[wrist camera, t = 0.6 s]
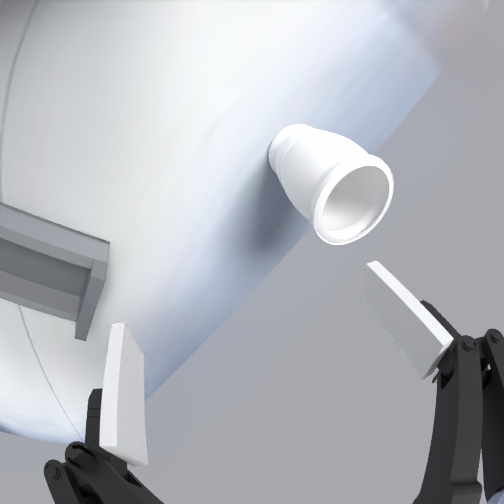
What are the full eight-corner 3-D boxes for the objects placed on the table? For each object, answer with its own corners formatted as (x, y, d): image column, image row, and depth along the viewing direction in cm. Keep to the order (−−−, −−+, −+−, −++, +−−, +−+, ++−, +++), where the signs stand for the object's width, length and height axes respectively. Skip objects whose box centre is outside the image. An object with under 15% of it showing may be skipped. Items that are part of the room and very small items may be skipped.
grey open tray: (-39, 186, 20) (-64, 216, 14) (109, 242, 36) (105, 280, 30) (-37, 259, 25) (-53, 292, 20) (88, 304, 42) (85, 341, 36)
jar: (302, 192, 42) (357, 253, 31) (247, 169, 36) (294, 233, 26) (337, 136, 37) (408, 182, 26) (285, 103, 31) (356, 138, 21)
